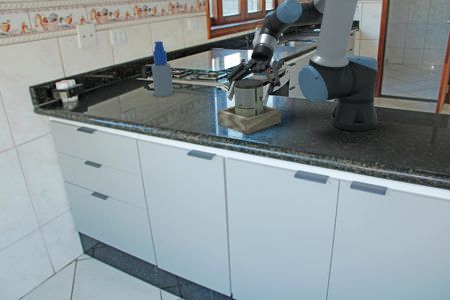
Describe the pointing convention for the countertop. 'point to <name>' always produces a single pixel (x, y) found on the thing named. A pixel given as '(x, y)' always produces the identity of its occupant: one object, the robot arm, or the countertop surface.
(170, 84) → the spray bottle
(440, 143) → the countertop surface
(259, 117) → the light wooden square tray
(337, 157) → the countertop surface
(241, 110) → the coffee can
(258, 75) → the fruit juice
